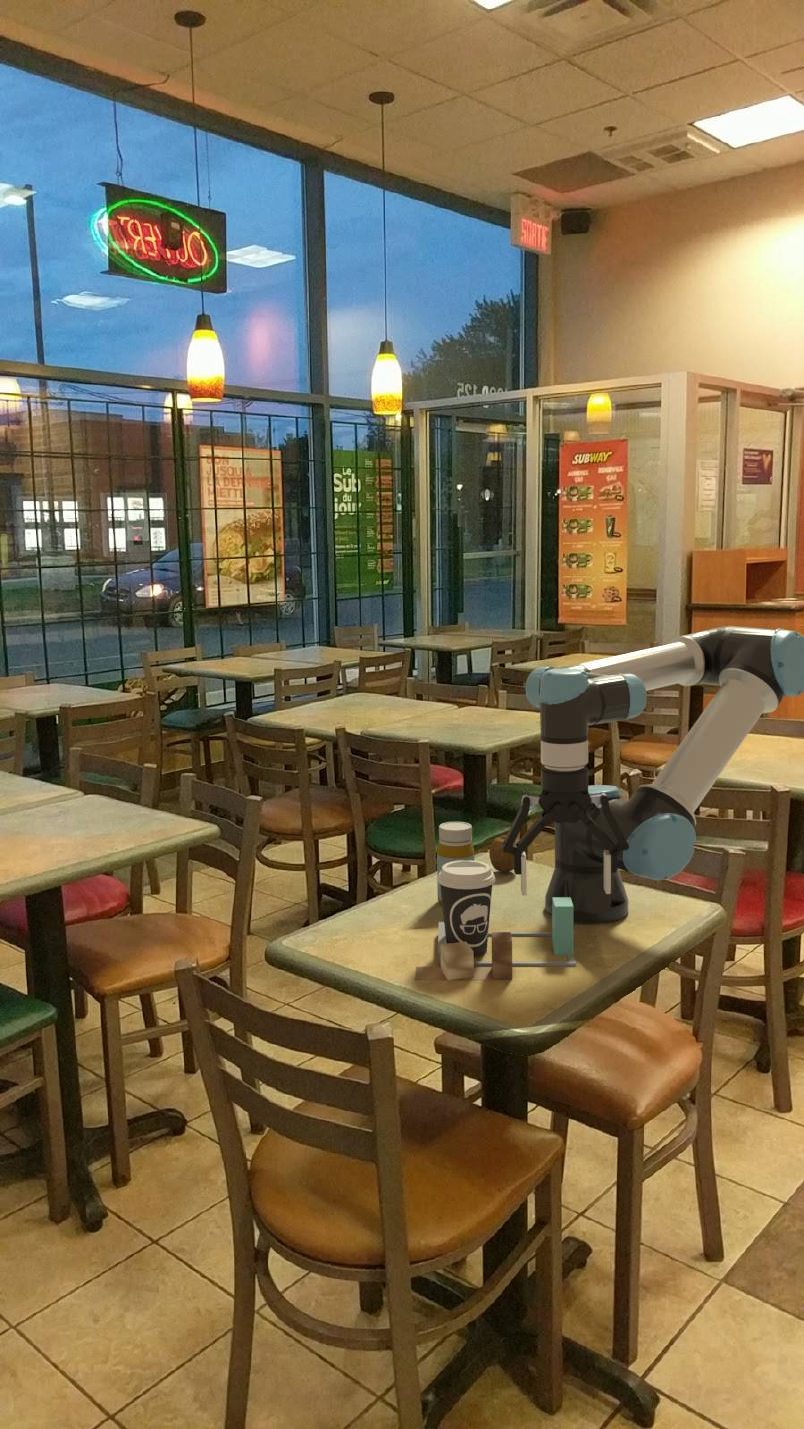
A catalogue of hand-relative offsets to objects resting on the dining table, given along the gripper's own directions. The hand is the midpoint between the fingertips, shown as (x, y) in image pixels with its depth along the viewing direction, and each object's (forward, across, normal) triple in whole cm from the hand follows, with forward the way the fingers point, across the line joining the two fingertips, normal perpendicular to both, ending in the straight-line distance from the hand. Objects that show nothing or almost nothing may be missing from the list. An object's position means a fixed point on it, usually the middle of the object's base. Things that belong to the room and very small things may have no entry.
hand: (565, 892), depth 173 cm
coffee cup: (+10, +16, +1) cm, 19 cm away
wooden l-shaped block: (+10, +17, +10) cm, 22 cm away
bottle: (+11, +18, -25) cm, 32 cm away
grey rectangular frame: (+10, +10, 0) cm, 15 cm away
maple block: (+9, +18, +10) cm, 23 cm away
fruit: (+11, +8, -43) cm, 45 cm away
